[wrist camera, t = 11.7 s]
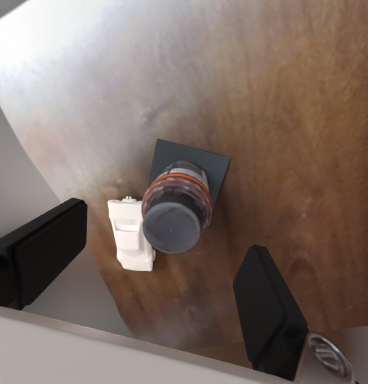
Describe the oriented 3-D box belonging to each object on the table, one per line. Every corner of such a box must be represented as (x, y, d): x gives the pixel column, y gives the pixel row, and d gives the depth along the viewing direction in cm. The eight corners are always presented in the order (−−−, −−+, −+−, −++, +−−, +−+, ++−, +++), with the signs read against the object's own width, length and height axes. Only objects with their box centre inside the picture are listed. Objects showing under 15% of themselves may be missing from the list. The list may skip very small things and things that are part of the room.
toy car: (124, 262, 28) (114, 279, 25) (113, 192, 24) (99, 202, 20) (157, 265, 27) (151, 282, 24) (152, 193, 23) (143, 204, 20)
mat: (145, 204, 24) (145, 205, 24) (157, 138, 21) (157, 138, 20) (208, 221, 24) (208, 222, 24) (230, 157, 21) (230, 157, 20)
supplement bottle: (193, 211, 23) (187, 279, 13) (153, 190, 23) (113, 243, 12) (217, 174, 21) (234, 218, 11) (174, 149, 21) (148, 171, 10)
